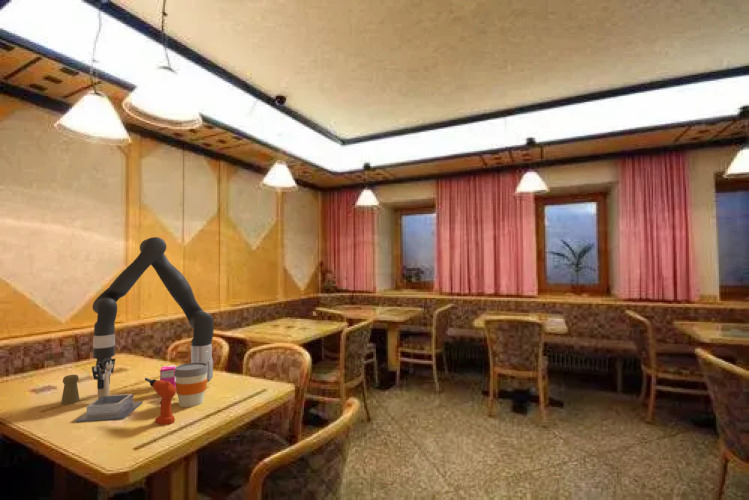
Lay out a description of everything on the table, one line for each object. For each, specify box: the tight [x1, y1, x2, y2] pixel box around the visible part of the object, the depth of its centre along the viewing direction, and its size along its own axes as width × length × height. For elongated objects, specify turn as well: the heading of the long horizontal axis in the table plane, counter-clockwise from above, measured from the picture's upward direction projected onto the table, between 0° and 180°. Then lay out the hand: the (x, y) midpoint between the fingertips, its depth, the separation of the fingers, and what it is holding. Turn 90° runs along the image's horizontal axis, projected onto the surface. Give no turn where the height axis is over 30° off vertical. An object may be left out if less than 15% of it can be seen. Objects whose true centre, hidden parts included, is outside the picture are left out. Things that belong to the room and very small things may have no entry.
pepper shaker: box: [60, 374, 80, 406], centre depth 157 cm, size 6×6×11 cm
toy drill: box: [144, 377, 177, 426], centre depth 138 cm, size 5×19×15 cm, turn 59°
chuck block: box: [74, 393, 144, 423], centre depth 145 cm, size 16×16×5 cm
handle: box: [97, 364, 113, 399], centre depth 157 cm, size 5×6×15 cm
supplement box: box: [159, 364, 177, 388], centre depth 167 cm, size 6×6×12 cm
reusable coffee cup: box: [174, 362, 208, 408], centre depth 154 cm, size 12×13×15 cm
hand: (103, 386), depth 157 cm, fingers closed on handle, 4 cm apart
